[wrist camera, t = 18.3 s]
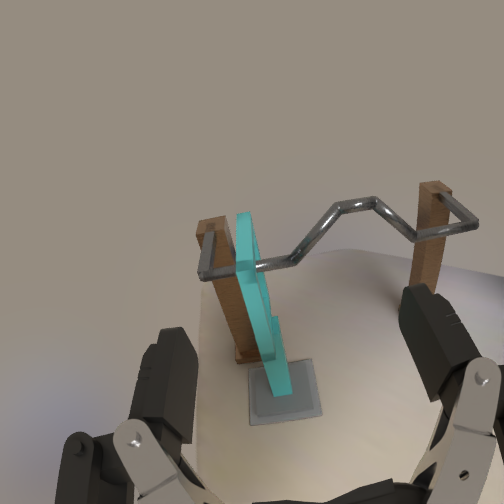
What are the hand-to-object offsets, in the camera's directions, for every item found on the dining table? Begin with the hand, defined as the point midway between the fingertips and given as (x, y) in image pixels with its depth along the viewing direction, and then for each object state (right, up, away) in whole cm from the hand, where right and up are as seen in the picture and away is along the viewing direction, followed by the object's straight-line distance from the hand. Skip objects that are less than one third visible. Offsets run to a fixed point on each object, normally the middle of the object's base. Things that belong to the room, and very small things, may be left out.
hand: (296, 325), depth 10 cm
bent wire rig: (+11, -12, +30) cm, 34 cm away
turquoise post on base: (+3, -16, +26) cm, 31 cm away
